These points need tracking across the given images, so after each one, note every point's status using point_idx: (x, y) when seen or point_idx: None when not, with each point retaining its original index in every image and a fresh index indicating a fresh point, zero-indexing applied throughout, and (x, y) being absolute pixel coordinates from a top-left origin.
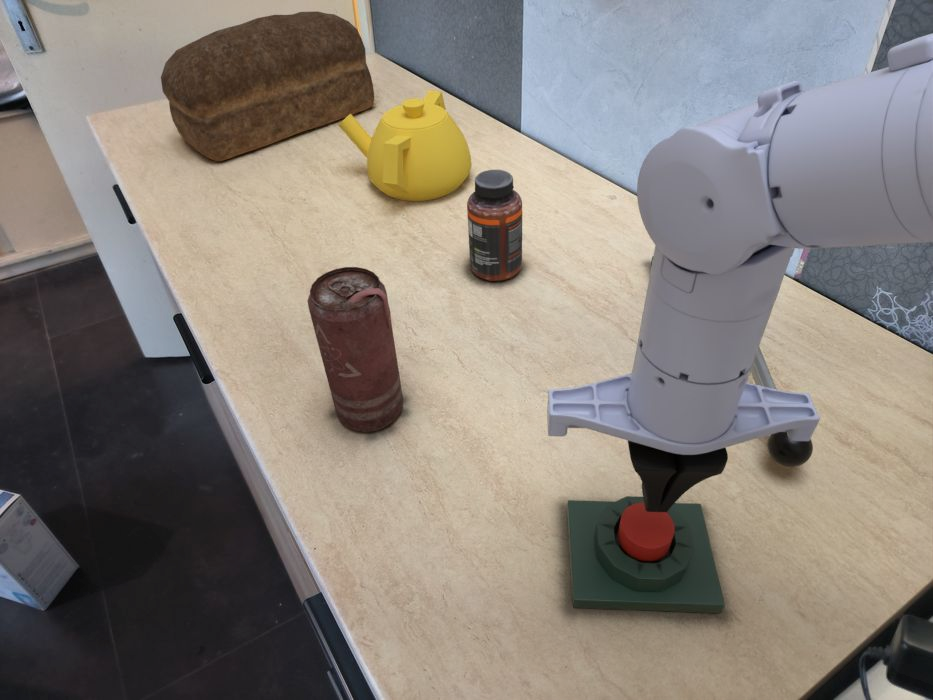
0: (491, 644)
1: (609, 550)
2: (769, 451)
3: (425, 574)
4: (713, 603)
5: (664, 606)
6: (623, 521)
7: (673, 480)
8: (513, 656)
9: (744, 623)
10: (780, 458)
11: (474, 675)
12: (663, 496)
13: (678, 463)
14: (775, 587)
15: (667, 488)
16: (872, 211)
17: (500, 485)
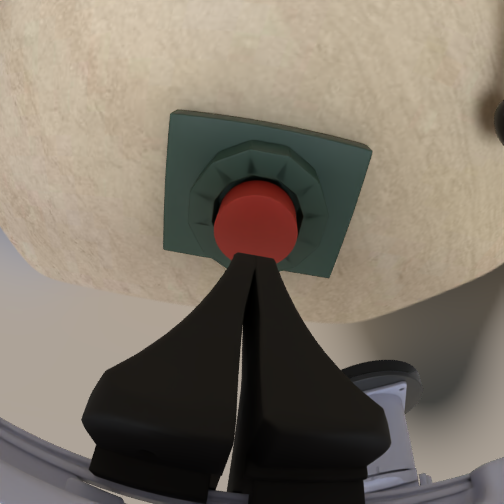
0: (95, 258)
1: (200, 232)
2: (497, 118)
3: (32, 189)
4: (318, 275)
5: None
6: (219, 223)
7: (238, 412)
8: (114, 270)
9: (344, 277)
10: (502, 138)
11: (87, 277)
12: (243, 342)
13: (233, 461)
14: (396, 250)
15: (243, 366)
16: None
17: (93, 70)
